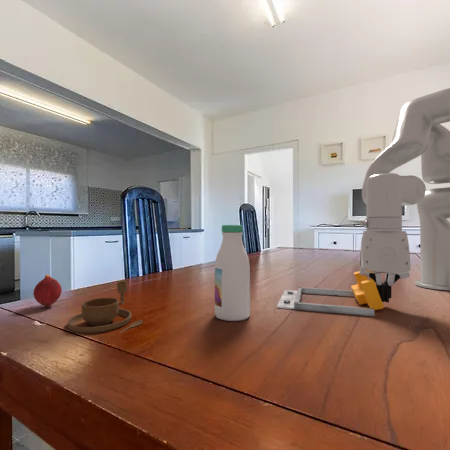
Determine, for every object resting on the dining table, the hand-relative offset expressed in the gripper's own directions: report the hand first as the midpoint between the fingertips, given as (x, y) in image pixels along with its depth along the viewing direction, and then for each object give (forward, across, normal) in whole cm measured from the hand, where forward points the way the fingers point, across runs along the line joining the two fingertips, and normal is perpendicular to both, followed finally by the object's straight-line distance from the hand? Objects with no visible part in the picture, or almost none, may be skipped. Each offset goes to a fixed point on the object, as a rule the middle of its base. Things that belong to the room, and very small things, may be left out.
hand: (383, 300), depth 68 cm
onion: (+2, -78, -23) cm, 82 cm away
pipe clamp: (+1, -3, +1) cm, 3 cm away
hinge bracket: (+2, -14, +1) cm, 14 cm away
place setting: (+3, -58, -24) cm, 63 cm away
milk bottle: (+2, -33, -17) cm, 38 cm away
